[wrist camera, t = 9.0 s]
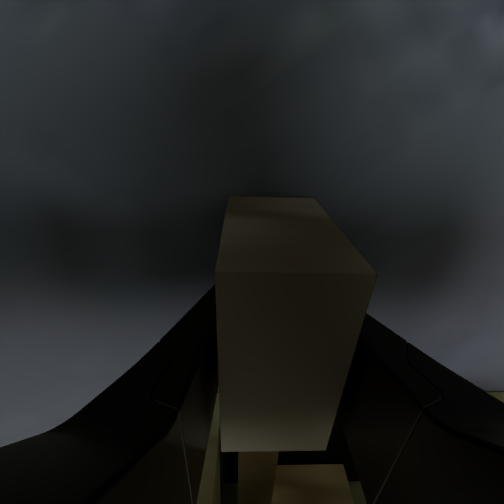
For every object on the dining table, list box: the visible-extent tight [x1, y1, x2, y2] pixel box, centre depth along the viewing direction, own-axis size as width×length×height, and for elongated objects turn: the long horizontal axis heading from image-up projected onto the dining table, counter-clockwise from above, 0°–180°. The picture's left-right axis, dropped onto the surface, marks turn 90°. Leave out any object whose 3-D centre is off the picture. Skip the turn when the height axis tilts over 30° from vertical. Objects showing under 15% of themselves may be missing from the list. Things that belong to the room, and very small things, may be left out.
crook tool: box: [215, 196, 377, 504], centre depth 12 cm, size 8×20×5 cm, turn 178°
